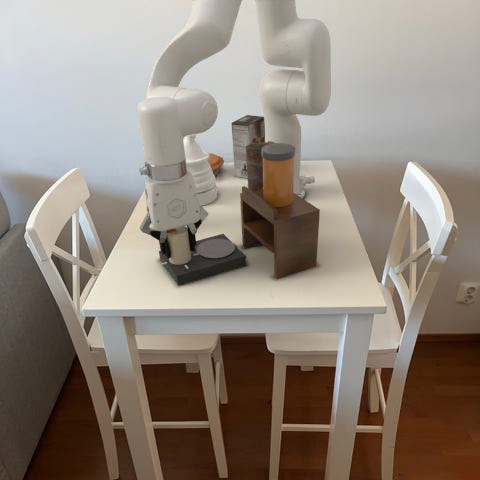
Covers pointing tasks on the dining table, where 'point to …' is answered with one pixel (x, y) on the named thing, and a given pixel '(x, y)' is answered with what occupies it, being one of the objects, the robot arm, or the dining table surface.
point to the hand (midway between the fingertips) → (179, 251)
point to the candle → (255, 164)
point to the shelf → (281, 230)
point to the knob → (179, 245)
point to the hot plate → (203, 264)
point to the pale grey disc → (216, 248)
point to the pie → (215, 163)
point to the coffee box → (246, 140)
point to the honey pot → (200, 170)
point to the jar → (278, 174)
